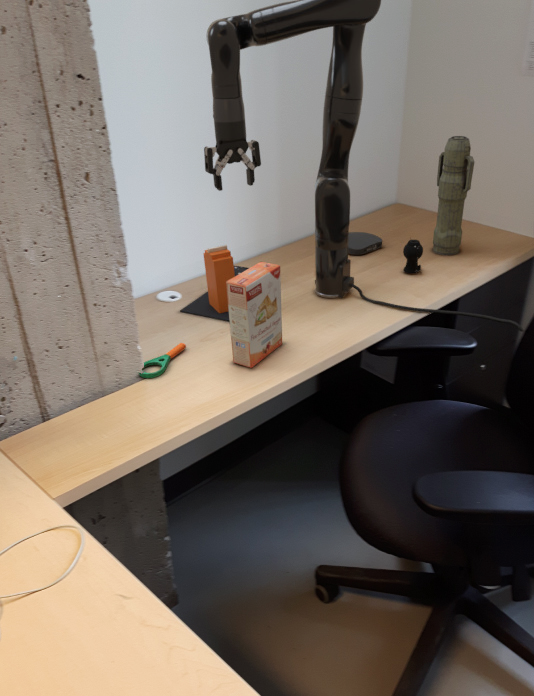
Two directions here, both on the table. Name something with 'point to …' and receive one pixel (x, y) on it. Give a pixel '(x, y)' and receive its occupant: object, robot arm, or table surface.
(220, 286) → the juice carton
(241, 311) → the cracker box
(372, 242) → the media streaming box
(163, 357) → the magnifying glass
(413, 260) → the gumball machine
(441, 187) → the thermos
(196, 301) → the desk mat
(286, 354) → the table surface
